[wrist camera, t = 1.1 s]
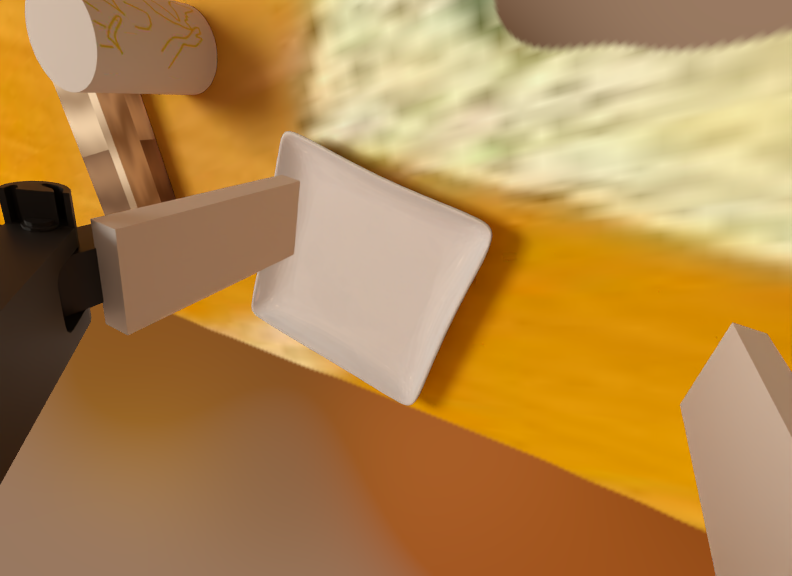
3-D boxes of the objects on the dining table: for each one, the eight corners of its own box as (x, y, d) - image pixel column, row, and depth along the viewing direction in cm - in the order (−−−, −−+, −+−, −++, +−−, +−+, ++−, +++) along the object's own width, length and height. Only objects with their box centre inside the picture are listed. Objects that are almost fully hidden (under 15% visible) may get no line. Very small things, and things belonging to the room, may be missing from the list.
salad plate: (422, 394, 48) (410, 413, 45) (266, 302, 53) (246, 314, 50) (506, 219, 37) (498, 228, 35) (303, 124, 42) (280, 126, 39)
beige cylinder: (230, 58, 43) (111, 44, 33) (189, 111, 47) (73, 113, 37) (182, -18, 42) (45, -57, 32) (144, 43, 46) (13, 26, 36)
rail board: (55, 41, 52) (5, 35, 47) (112, 10, 47) (62, 1, 42) (130, 241, 59) (93, 251, 54) (187, 233, 54) (151, 244, 49)
